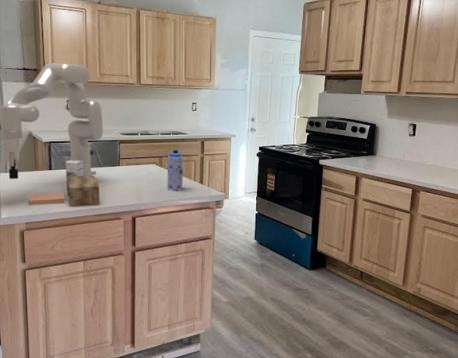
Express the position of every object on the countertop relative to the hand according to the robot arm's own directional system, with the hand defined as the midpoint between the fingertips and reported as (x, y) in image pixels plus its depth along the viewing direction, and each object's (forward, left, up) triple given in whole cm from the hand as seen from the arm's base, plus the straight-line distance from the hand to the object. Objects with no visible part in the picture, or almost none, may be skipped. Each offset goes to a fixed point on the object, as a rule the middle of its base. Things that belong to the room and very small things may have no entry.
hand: (13, 178), depth 187 cm
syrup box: (-30, +6, -11) cm, 32 cm away
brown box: (-20, +19, -11) cm, 30 cm away
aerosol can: (-58, +45, -11) cm, 74 cm away
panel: (-9, +9, -11) cm, 17 cm away
